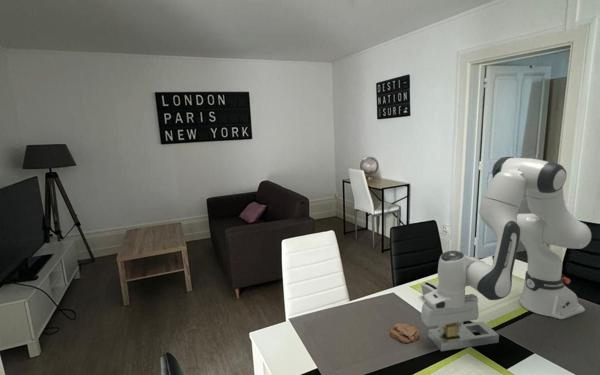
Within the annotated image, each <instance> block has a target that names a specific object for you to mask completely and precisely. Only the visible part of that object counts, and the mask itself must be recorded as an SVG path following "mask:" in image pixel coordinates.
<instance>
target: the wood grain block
mask: <svg viewBox="0 0 600 375" xmlns="http://www.w3.org/2000/svg"><path fill="white" fill-rule="evenodd" d="M443 328H444V329H445V330H446V334H443V335H442V336H443V337H444V338H445V339H446V340H450V339H457V338H458V325H457V324H456V323H450V324H443Z"/></svg>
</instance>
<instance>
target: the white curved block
mask: <svg viewBox="0 0 600 375" xmlns="http://www.w3.org/2000/svg"><path fill="white" fill-rule="evenodd" d="M437 286H438V284H435V283H434V282H432V281H429V280H427V281H425V282H424V283H422V284H420V287H421V291H422V295H423V297H424V295H425V294H427V293H430V292H432V291H433V290H435V289H437Z"/></svg>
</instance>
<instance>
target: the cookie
mask: <svg viewBox="0 0 600 375" xmlns="http://www.w3.org/2000/svg"><path fill="white" fill-rule="evenodd" d="M389 332H390V336H391V338H392V339H393V340H396V341H397V342H399V343H402V344H409V343H414V342H417V341H418V340H419V339H420V331H419V330H418V329H417V328H416V327H415V326H413V325H411V324H407V323H401V322H397V323H395V324H394V325H393V326H392V327H390V329H389Z"/></svg>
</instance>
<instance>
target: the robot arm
mask: <svg viewBox="0 0 600 375" xmlns="http://www.w3.org/2000/svg"><path fill="white" fill-rule="evenodd" d="M491 174H492V179H491V181H490V183H489V184H488V185H487V186H488V187H487V188H486V190H485V192H484V195H483V198H482V200H481V202H480V205H479V210H478V211H479V212H478V214H479V216H480V219H481V220H482V222H483V223H484V224H485V225H486V226H487V227H488V228H489V229H490V230H491V232H492V233H493V234H494V235H495V238H496V246H495V251H494V254H493V255H494V259H493V258H492V264H491V265H490V264H489V263H486V262H485V261H482V260H481V259H479V258H477V257H474V256H470V255H465V254H464V253H463V252H461V251H459V250H448V251H445V252H443V253H441V255H440V256H439V259H438V267H437V279H438V283H437V289H435V290H433V291H432V292H430V293H427V294H425V295H424V296H423V301H424V302H423V303H422V305H421V306H422V307H421V311H420V312H421V313H420V314H421V315H420V316H421V317H420V320H421V321H422V322H423V324H424V325H425V326H426V327H433V326H434V327H435V326H437V328H439V332H440V334H441V335H443V334H446V330H445V329H444V328H443V324H450V323H456V324H457V325H458V332H460V328H461V326H462V325H463V324H464V322H469V321H476V320H478V318H479V316H480V314H479V313H480V312H479V305H478V303H479V298H478V296H477V295H476V294H474V293H470V294H466V287H471V288H472V289H474V290H475V291H477V292H478V293H479V294H481V295H482V296H483V297H484V298H485V299H487V300H489V301H498V300H502V299H505V298H506V297H507V296H508V295H509V294H510V293H511V290H512V288H513V287H512V286H513V285H512V284H513V282H512V281H513V280H512V279H513V271H514V266H515V262H516V257H517V252H518V248H519V245H520V241H521V243H522V245H523V246H524V249H525V251H526V255H527V268H526V269H527V270H526V272H525V274H524V276H525V278H524V284H523V288H522V293H520V300H519V304H520V305H521V306H522V307H523V308H525V309H526V310H528V311H530V312H532V313H534V314H535V313H536V314H538V315H542V316H546V317H551V318H554V319H557V318H558V320H564V319H567V318H570V317H573V316H575V315H579V314H581V313H584V312H585V311H586V308H585V307H584V306H583V305H581V304H580V303H579V302H578V296H577V294H576V293H575V292H574V291H572V290H571V289H569V288H568V287H567V286H566V285H565V284H564V283H566V284H567V285H569V284H570V283H571V279H570V278H568V277H565V276H564V277H562V272H563V260H562V258H561V257H560V255H558V254H557V253H556V252H555V251H553V250H552V249H550V247H549V246H548V245H550V246H556V247H559V248H565V249H575V250H576V249H577V250H578V249H579V250H581V249H584V248H585V247H587V246H588V245H589V244H590V242H591V240H592V232H591V229H590V228H589V226H588V225H587V224H586V223H584V222H581V221H580V220H578V219H577V218H576V217H575V216H574V215H573V214H572V213H571V212H570V211H569V210H568V208H567V206H566V203H565V196H564V185H565V183H566V180H567V170H566V169H565V168H564V165H562V164H560V163H556V162H554V161H547V160H543V159H538V158H537V159H536V158H531V157H529V158H527V157H514V156H503V157H500V158H499V159H497V161H496V162H495V163H494V165H493V167H492V172H491ZM525 192H526V202H527V208H528V209H529V211H530V212H531V213H519V210H520V208H521V205H522V202H523V200H524V199H523V198H524V195H525Z"/></svg>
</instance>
